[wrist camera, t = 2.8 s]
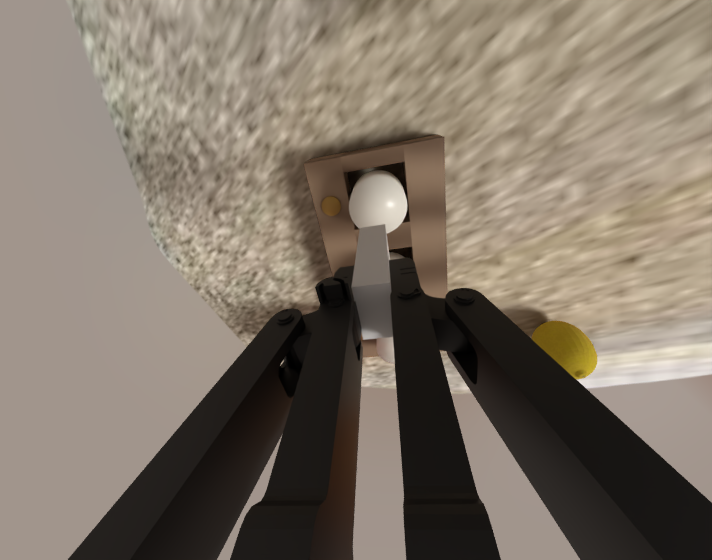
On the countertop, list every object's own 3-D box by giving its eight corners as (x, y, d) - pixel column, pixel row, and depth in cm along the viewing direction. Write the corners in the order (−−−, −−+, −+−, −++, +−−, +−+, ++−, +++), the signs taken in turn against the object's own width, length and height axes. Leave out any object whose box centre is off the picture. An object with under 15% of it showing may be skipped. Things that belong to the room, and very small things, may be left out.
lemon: (520, 344, 37) (551, 396, 31) (521, 312, 35) (556, 361, 28) (565, 338, 36) (609, 390, 30) (570, 304, 34) (619, 353, 27)
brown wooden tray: (310, 159, 27) (302, 164, 24) (437, 134, 25) (444, 137, 23) (355, 342, 39) (353, 359, 36) (443, 334, 37) (449, 351, 35)
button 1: (347, 175, 25) (343, 183, 22) (401, 165, 24) (404, 172, 22) (356, 226, 27) (354, 238, 25) (406, 218, 27) (409, 230, 24)
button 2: (373, 315, 33) (373, 334, 30) (415, 311, 32) (418, 330, 30) (379, 345, 35) (379, 365, 33) (418, 342, 35) (421, 362, 32)
